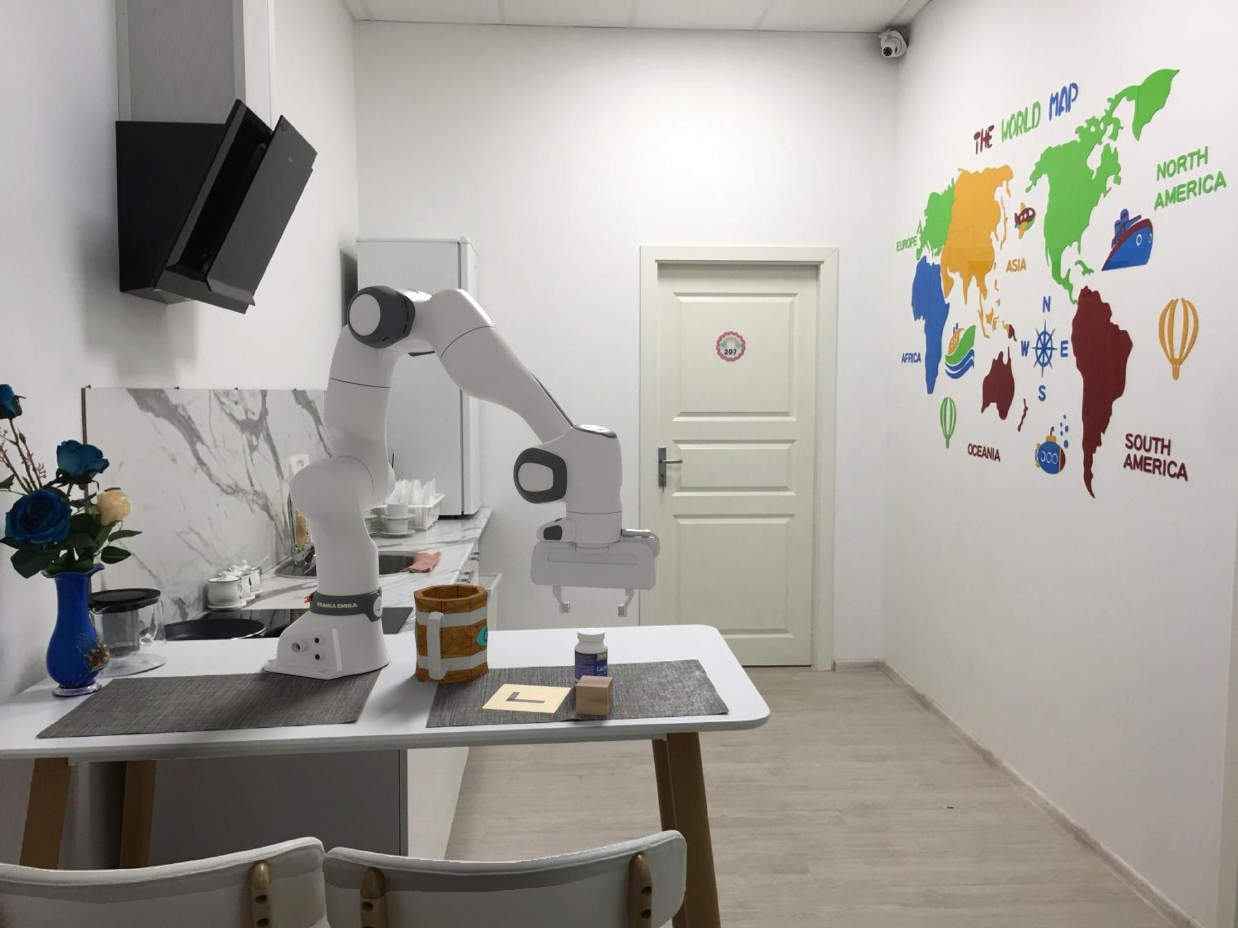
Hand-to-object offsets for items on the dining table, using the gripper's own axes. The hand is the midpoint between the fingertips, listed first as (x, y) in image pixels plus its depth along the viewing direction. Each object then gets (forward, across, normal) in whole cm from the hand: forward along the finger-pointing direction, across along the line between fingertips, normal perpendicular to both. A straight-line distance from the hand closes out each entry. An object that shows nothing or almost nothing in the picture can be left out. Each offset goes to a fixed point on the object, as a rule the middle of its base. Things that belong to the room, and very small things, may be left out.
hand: (594, 614), depth 143 cm
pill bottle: (+16, +3, -11) cm, 20 cm away
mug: (+16, +29, -11) cm, 35 cm away
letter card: (+16, +12, -3) cm, 20 cm away
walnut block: (+16, 0, 0) cm, 16 cm away
